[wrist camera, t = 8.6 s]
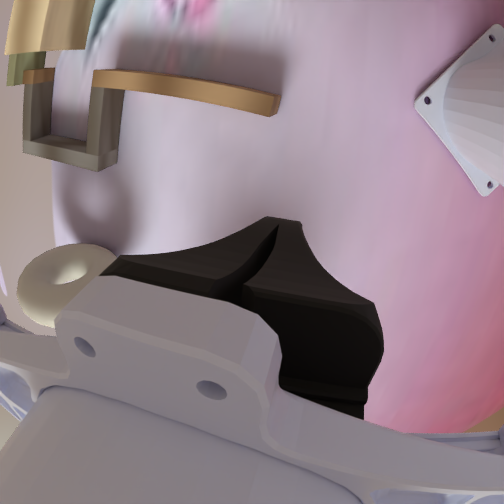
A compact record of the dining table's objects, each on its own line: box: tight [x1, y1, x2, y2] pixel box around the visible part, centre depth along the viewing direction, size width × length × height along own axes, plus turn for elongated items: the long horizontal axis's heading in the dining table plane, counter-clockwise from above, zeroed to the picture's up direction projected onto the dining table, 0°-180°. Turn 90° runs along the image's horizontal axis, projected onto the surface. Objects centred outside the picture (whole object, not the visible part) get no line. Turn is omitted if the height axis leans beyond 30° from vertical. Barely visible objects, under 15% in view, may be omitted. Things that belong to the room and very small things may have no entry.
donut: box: [17, 243, 117, 328], centre depth 24 cm, size 10×4×10 cm, turn 87°
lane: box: [7, 51, 281, 172], centre depth 15 cm, size 22×23×4 cm
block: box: [5, 0, 95, 55], centre depth 15 cm, size 5×5×5 cm
